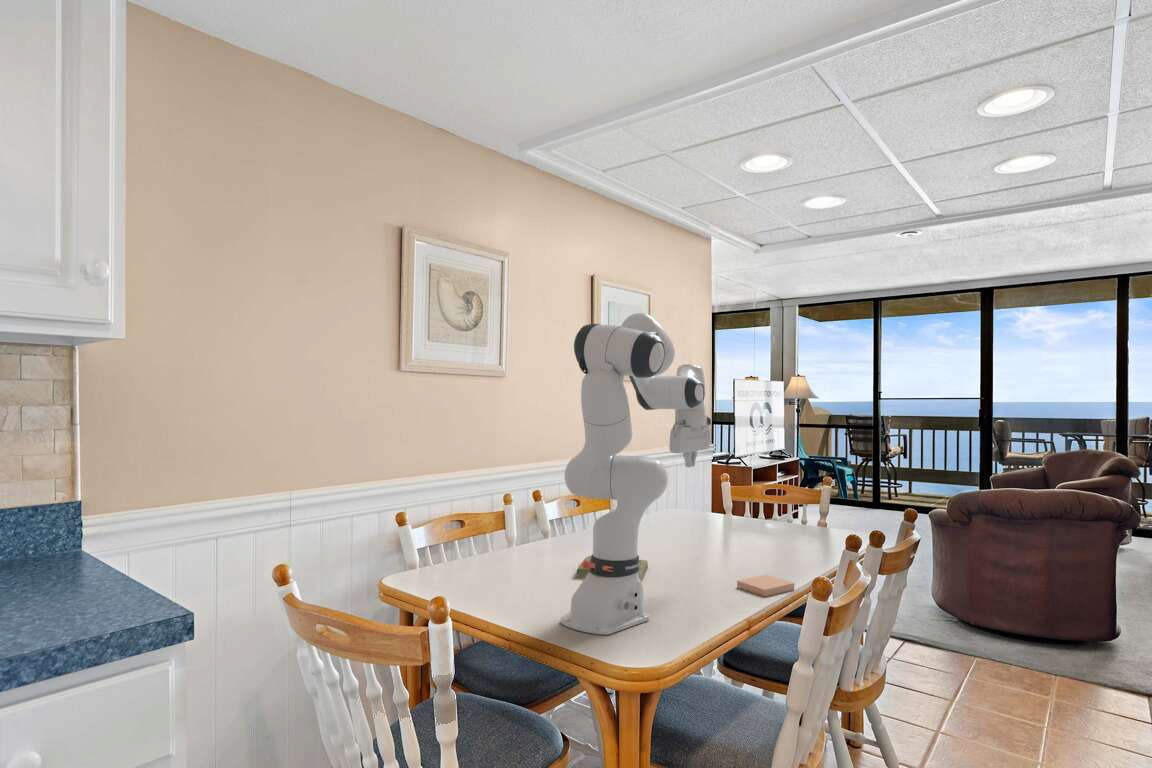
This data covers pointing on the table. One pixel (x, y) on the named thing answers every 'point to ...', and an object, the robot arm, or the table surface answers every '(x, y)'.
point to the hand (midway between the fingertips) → (690, 466)
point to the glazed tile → (765, 585)
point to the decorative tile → (583, 572)
